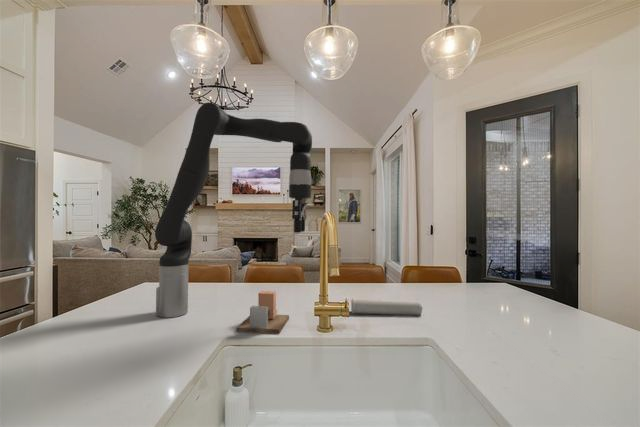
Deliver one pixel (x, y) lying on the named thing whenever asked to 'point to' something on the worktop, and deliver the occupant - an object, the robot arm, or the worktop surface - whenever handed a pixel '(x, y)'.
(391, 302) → the tube
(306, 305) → the worktop surface
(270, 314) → the orange tall block
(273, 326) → the brown wooden board
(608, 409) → the worktop surface
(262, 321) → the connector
